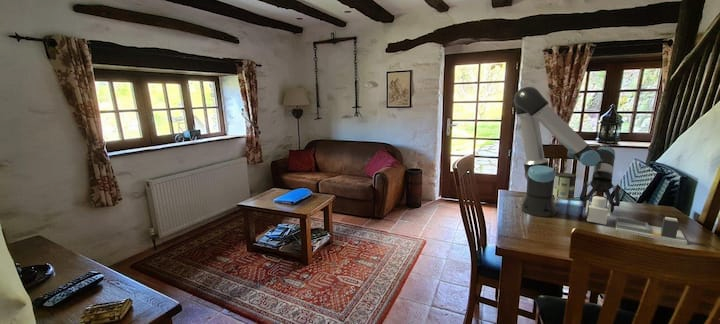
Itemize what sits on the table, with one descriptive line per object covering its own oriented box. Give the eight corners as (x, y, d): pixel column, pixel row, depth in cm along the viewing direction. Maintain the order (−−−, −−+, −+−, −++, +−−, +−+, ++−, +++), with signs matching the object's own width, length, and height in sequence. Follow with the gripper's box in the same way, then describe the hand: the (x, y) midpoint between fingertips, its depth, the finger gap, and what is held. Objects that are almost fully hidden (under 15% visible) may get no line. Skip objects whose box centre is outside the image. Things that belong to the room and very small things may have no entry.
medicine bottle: (586, 216, 144) (589, 192, 141) (605, 219, 139) (609, 195, 137) (586, 221, 138) (590, 196, 136) (606, 224, 134) (610, 199, 131)
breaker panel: (616, 231, 129) (617, 225, 128) (615, 221, 139) (616, 216, 138) (686, 244, 116) (687, 238, 115) (680, 233, 126) (681, 227, 125)
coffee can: (568, 195, 180) (571, 172, 177) (577, 200, 170) (580, 176, 167) (549, 194, 182) (552, 172, 179) (557, 199, 172) (559, 176, 170)
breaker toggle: (661, 236, 120) (664, 218, 119) (660, 233, 123) (663, 216, 121) (675, 238, 118) (679, 220, 116) (674, 236, 120) (677, 218, 119)
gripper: (628, 182, 141) (625, 224, 132) (576, 175, 153) (569, 214, 144) (631, 173, 136) (627, 217, 127) (577, 167, 148) (570, 206, 139)
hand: (597, 215), depth 135 cm, fingers closed on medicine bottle, 7 cm apart
